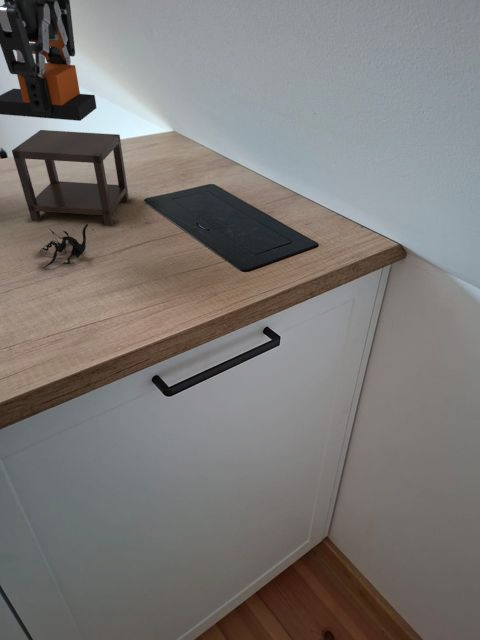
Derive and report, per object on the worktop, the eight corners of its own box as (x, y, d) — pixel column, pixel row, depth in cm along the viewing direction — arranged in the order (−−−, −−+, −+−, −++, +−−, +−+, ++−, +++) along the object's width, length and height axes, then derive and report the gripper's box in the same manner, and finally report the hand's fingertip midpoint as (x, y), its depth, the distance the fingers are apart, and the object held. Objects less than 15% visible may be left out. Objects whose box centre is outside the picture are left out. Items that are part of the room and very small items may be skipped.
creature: (32, 274, 74) (78, 271, 72) (15, 242, 70) (62, 237, 68) (58, 250, 80) (101, 246, 78) (43, 219, 76) (87, 214, 74)
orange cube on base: (-6, 114, 56) (-19, 69, 53) (16, 101, 60) (6, 59, 57) (80, 121, 55) (72, 76, 53) (96, 108, 60) (90, 66, 57)
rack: (31, 221, 85) (11, 150, 77) (56, 196, 93) (40, 129, 85) (111, 226, 84) (99, 155, 76) (129, 200, 93) (119, 134, 85)
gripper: (11, -85, 52) (48, 90, 63) (-69, -91, 41) (-8, 122, 52) (81, -80, 52) (105, 95, 63) (18, -85, 41) (61, 128, 52)
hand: (54, 106), depth 57 cm, fingers closed on orange cube on base, 5 cm apart
